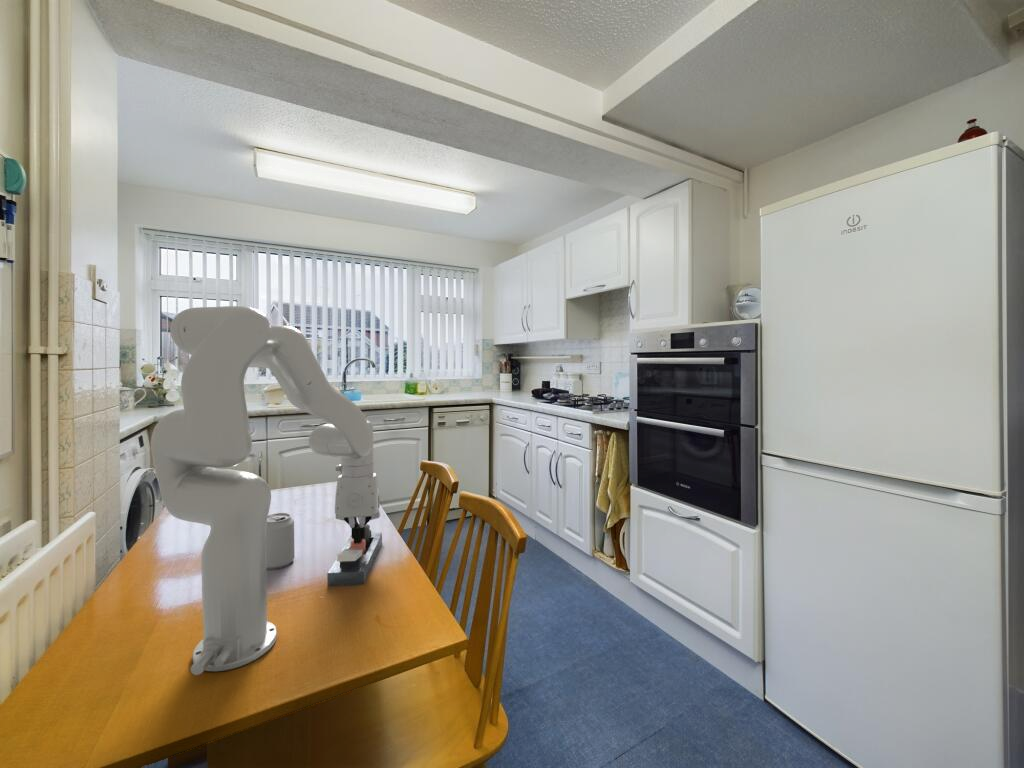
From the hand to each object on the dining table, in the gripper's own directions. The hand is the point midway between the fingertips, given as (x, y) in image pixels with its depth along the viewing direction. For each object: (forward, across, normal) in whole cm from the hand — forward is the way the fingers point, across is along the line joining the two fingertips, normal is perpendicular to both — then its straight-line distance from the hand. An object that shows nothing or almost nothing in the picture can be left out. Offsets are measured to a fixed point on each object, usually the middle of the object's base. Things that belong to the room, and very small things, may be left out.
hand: (358, 540), depth 110 cm
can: (+5, -20, 0) cm, 20 cm away
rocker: (0, 0, -8) cm, 8 cm away
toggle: (+1, 0, +9) cm, 9 cm away
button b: (+3, 0, +5) cm, 5 cm away
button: (+5, 0, 0) cm, 5 cm away
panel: (+5, 0, -1) cm, 5 cm away
